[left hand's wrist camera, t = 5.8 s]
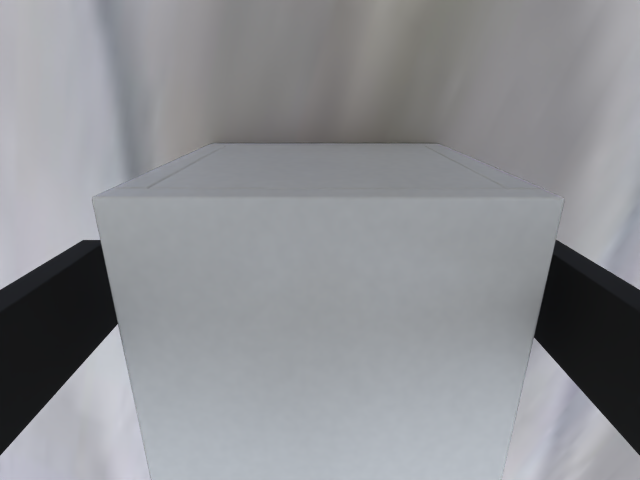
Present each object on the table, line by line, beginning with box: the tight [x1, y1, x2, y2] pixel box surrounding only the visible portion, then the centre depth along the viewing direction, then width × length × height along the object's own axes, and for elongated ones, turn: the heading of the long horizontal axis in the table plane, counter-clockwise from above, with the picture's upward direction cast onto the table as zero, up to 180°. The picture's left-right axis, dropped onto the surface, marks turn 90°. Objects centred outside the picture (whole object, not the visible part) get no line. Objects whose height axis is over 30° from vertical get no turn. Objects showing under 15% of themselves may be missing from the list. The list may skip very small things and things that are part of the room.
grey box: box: [92, 143, 564, 480], centre depth 17 cm, size 18×11×10 cm, turn 0°
